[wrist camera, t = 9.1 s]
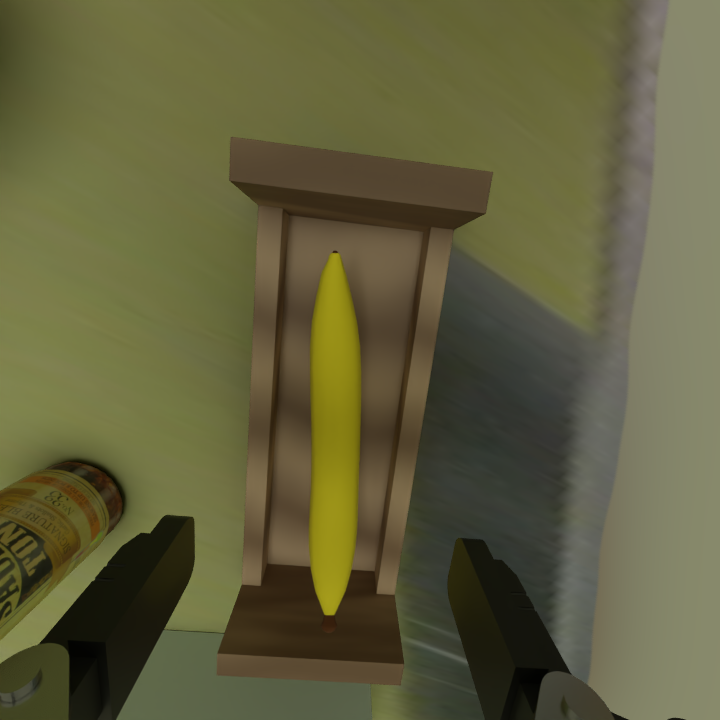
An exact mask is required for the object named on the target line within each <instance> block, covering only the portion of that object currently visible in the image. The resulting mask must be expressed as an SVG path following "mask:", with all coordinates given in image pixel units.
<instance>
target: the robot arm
mask: <svg viewBox="0 0 720 720" xmlns="http://www.w3.org/2000/svg"><path fill="white" fill-rule="evenodd" d="M194 560H195V535H194V518H193V517H187V516H174V515H165V516H164V517H163V518H162V519H161V520H160V521H159V523H158V524H157V525H156V527H155V528H154V529H153V531H152V532H151V533H140V534H139V535H137V536H136V537H134V538H133V539H132V540H130V541H129V542H127V543H126V544H124V545H123V546H122V547H121V548H120V549H119V550H118V551H117V553H116V554H115V555H114V556H113V557H112V558H111V560H110V561H109V562H108V564H107V566H106V567H104V568H103V569H102V570H101V571H100V573H99V574H98V575H97V576H96V577H95V580H94V581H92V582H91V583H90V584H89V586H88V587H87V588H86V589H85V590H84V592H83V593H82V594H81V595H80V596H79V598H78V599H77V600H76V601H75V602H74V603H73V605H72V606H71V607H70V608H69V609H68V611H67V612H66V613H65V614H64V615H63V616H62V618H61V619H60V620H59V621H58V622H57V624H56V625H55V626H54V627H53V628H52V629H51V631H50V632H49V633H48V634H47V635H46V637H45V638H44V639H43V640H42V641H41V642H40V643H39V644H38V645H36V646H32V647H30V648H27V649H24V650H22V651H20V652H18V653H16V654H14V655H13V656H11V657H9V658H8V659H6V660H5V661H3V662H2V663H1V664H0V720H116V719H117V717H118V715H119V713H120V711H121V709H122V708H123V706H124V704H125V702H126V700H127V698H128V696H129V694H130V692H131V691H132V689H133V687H134V685H135V683H136V681H137V679H138V677H139V675H140V674H141V672H142V670H143V668H144V666H145V664H146V662H147V660H148V658H149V656H150V655H151V653H152V651H153V649H154V647H155V645H156V643H157V641H158V639H159V638H160V636H161V634H162V632H163V630H164V628H165V626H166V624H167V622H168V620H169V619H170V617H171V615H172V613H173V611H174V609H175V607H176V605H177V603H178V602H179V600H180V598H181V596H182V594H183V592H184V590H185V588H186V586H187V584H188V582H189V580H190V577H191V574H192V571H193V567H194ZM448 596H449V601H450V605H451V608H452V611H453V615H454V618H455V621H456V625H457V628H458V631H459V635H460V638H461V641H462V645H463V648H464V651H465V654H466V658H467V661H468V664H469V668H470V671H471V674H472V678H473V681H474V684H475V688H476V691H477V694H478V697H479V701H480V704H481V707H482V711H483V714H484V717H485V720H628V719H626V718H623V717H621V716H619V715H616V714H614V713H612V712H611V711H610V710H609V708H608V707H607V705H606V704H605V702H604V701H603V700H602V699H601V698H600V697H599V696H598V694H597V693H596V692H595V691H594V690H593V689H592V688H591V687H589V686H588V685H587V684H586V683H584V682H583V681H582V680H580V679H578V678H577V677H575V676H573V675H572V674H571V673H570V671H569V669H568V668H567V666H566V664H565V662H564V660H563V659H562V657H561V655H560V653H559V651H558V649H557V648H556V646H555V644H554V642H553V640H552V639H551V637H550V635H549V633H548V631H547V630H546V628H545V626H544V624H543V622H542V620H541V619H540V617H539V615H538V613H537V611H535V610H534V606H533V604H532V602H531V601H530V599H529V597H528V596H526V592H525V590H524V588H523V586H522V584H521V582H520V581H519V579H518V577H517V575H516V574H515V573H514V572H513V571H512V570H511V569H510V568H509V567H508V566H507V565H506V564H505V563H504V562H503V561H502V560H494V559H493V557H492V555H491V553H490V551H489V549H488V547H487V545H486V543H485V542H484V541H483V540H480V539H466V538H458V539H457V540H456V543H455V547H454V552H453V556H452V561H451V566H450V571H449V575H448ZM668 720H685V719H680V718H671V719H668Z"/></svg>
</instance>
